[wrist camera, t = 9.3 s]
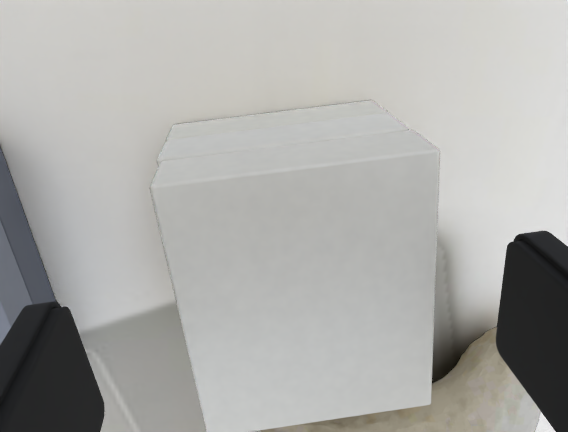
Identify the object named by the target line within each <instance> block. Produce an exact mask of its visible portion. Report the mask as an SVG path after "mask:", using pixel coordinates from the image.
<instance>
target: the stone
mask: <svg viewBox="0 0 568 432" xmlns="http://www.w3.org/2000/svg"><path fill="white" fill-rule="evenodd" d="M496 331H497V327H495V328H492V329H490V330H488V331H487V332H486V333H485V334H484V335H483V336H481V337H480V338H478V339H477V340H475V341H474V342H472V343H471V344H470V345H469V347H468V348H467V350H466V351H465V352H464V353H463V354H462V355H461V358H460V360H459V362H458V363H457V365H456V366H455V367H454V368H453V369H452V370H451V371H450V372H449V373H448V374H447V375H446V376H445V377H443V378H442V379H440V380H438V381H437V382H435V383H433V384H432V390H431V404H430V405H425V406H419V407H412V408H405V409H399V410H392V411H385V412H379V413H372V414H365V415H359V416H352V417H345V418H339V419H332V420H325V421H319V422H312V423H305V424H299V425H292V426H285V427H279V428H272V429H265V430H260V431H261V432H535V430H536V427H537V424H538V421H539V417H540V412H541V411H540V409H539V408H538V407H537V405H536V404H535V402H534V401H533V400H532V398H531V397H530V396H529V394H528V393H527V392H526V390H525V389H524V387H523V386H522V385H521V383H520V382H519V381H518V379H517V378H516V377H515V375H514V374H513V372H512V371H511V370H510V368H509V367H508V366H507V364H506V363H505V362H504V360H503V359H502V357H501V356H500V354H499V352H498V350H497V347H496Z"/></svg>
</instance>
